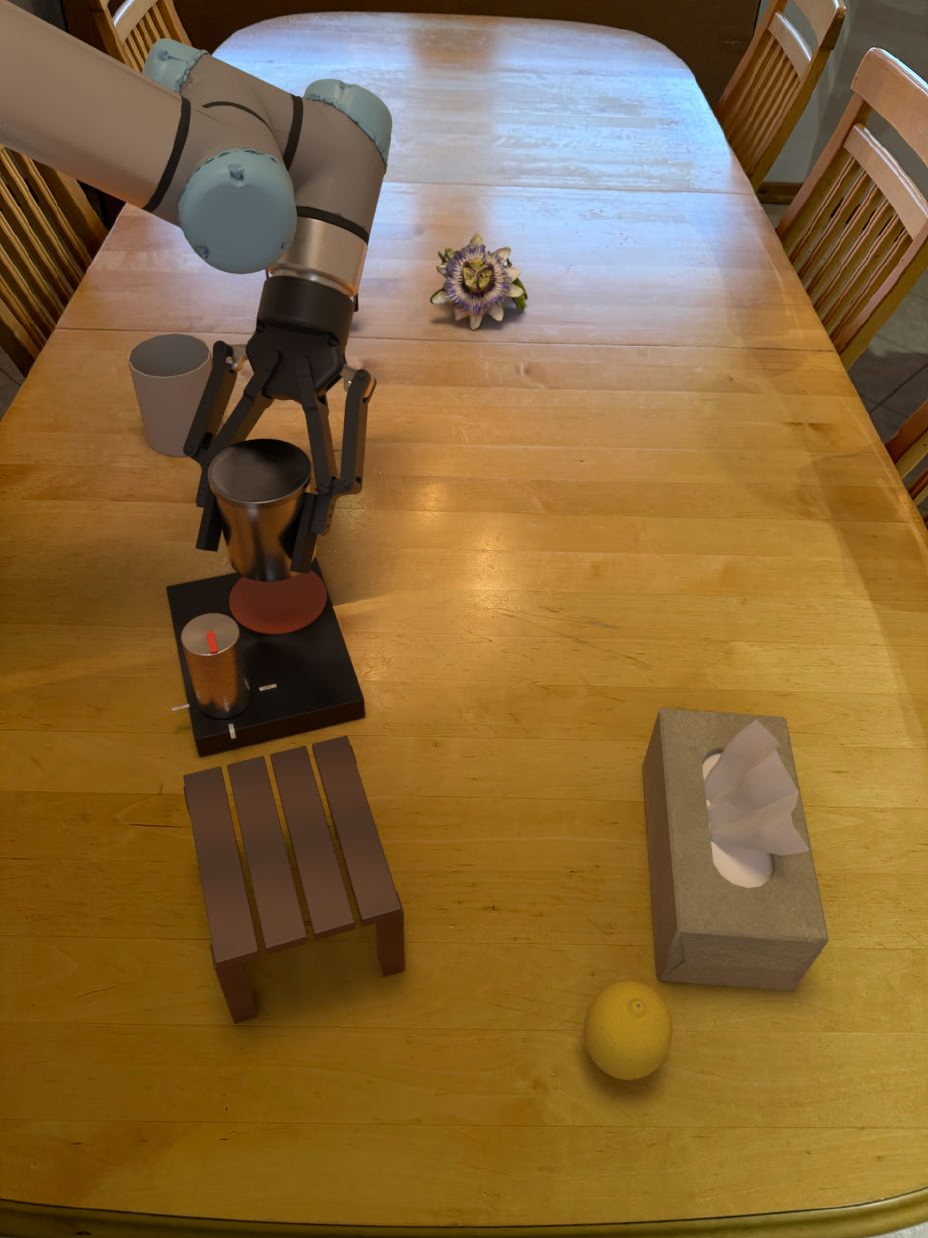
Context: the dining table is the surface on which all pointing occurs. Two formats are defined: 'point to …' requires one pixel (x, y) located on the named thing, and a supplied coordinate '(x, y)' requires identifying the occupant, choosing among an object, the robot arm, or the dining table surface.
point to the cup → (169, 387)
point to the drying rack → (273, 867)
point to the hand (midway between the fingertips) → (252, 560)
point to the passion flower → (478, 282)
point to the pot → (261, 504)
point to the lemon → (628, 1030)
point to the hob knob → (217, 665)
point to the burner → (278, 603)
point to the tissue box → (729, 852)
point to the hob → (271, 673)
